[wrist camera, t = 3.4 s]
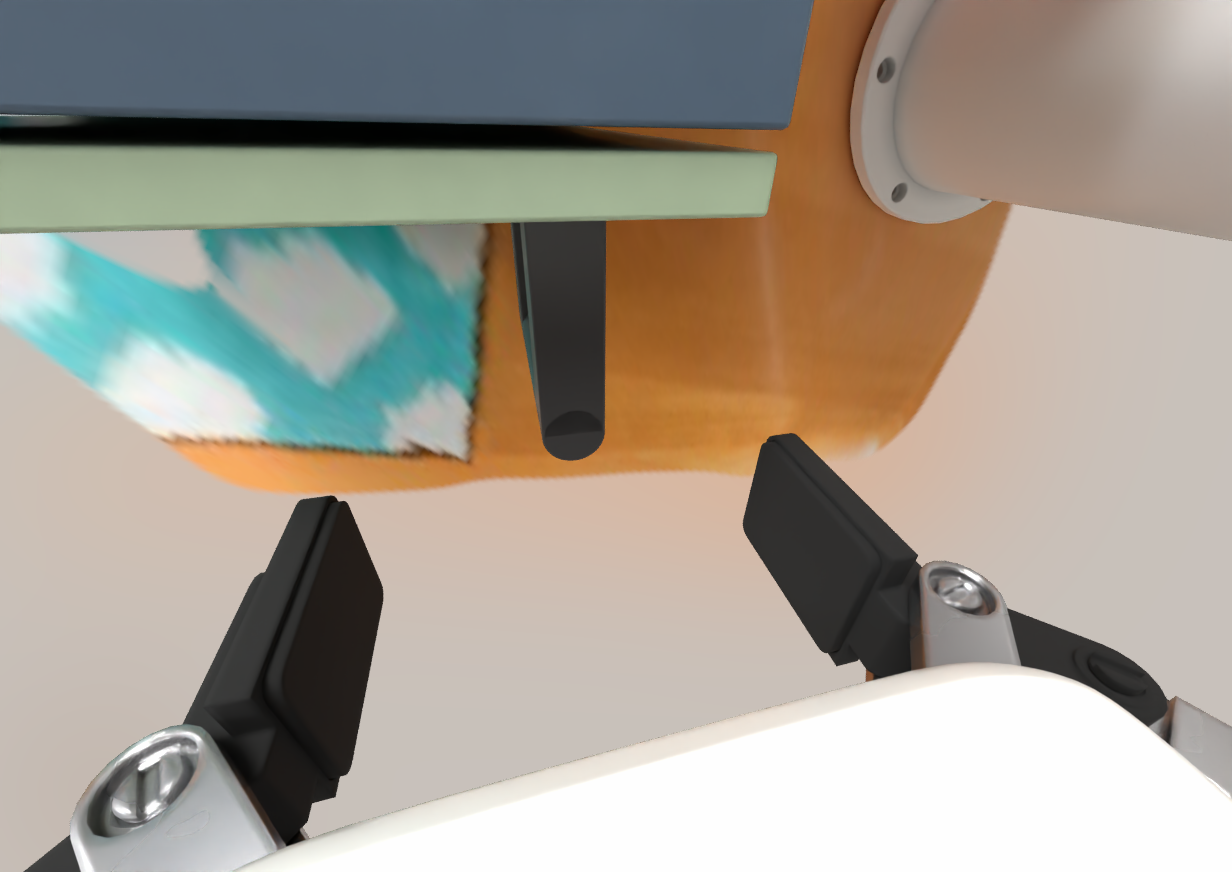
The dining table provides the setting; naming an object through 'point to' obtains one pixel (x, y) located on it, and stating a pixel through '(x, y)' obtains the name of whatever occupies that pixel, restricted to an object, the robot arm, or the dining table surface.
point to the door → (397, 204)
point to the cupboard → (409, 60)
